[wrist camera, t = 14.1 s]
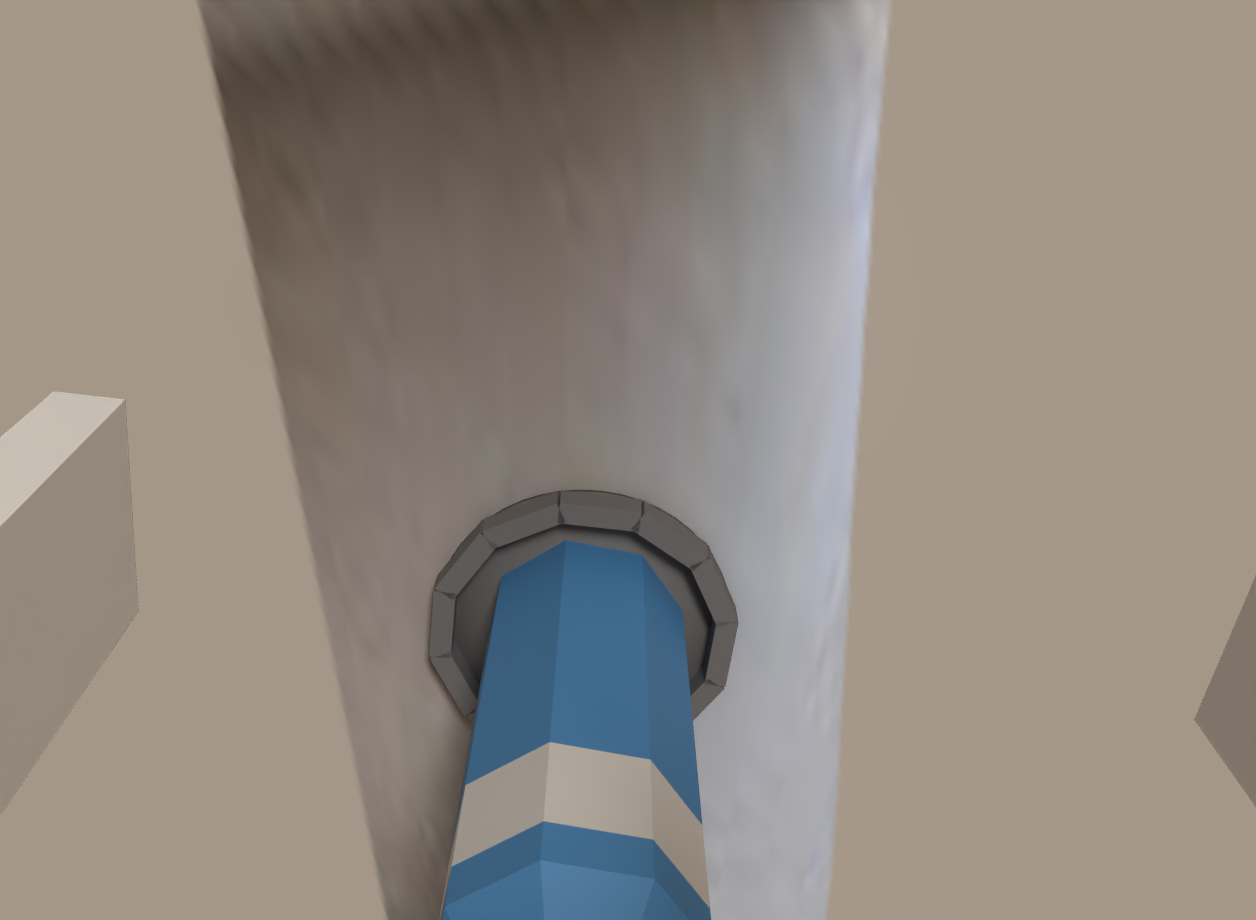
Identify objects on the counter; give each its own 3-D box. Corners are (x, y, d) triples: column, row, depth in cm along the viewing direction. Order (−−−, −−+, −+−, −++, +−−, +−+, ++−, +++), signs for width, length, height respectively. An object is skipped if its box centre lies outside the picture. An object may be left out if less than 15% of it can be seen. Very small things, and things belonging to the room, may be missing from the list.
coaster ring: (445, 473, 52) (440, 490, 50) (754, 508, 52) (758, 525, 51) (427, 723, 58) (422, 744, 56) (705, 750, 58) (707, 771, 57)
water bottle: (508, 716, 57) (437, 1250, 34) (465, 555, 53) (353, 1040, 30) (696, 690, 56) (749, 1215, 34) (667, 524, 52) (705, 996, 30)
